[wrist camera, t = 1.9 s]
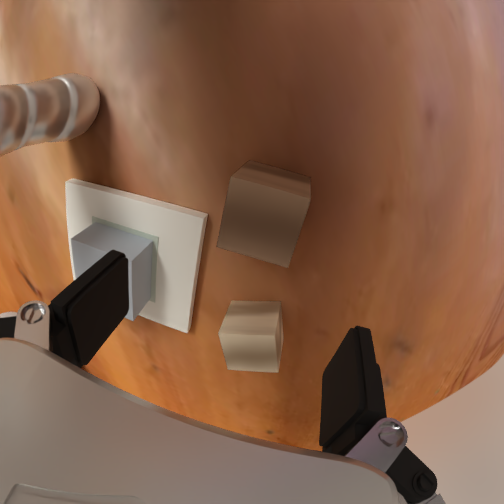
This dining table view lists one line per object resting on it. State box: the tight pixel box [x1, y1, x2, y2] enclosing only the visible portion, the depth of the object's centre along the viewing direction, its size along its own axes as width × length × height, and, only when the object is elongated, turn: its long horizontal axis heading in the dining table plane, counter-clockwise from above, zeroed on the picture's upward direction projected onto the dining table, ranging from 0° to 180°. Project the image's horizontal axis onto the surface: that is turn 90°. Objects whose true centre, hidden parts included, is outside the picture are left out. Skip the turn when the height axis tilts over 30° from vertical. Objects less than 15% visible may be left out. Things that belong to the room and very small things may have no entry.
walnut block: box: [217, 160, 311, 268], centre depth 21 cm, size 5×5×6 cm
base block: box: [71, 222, 153, 321], centre depth 26 cm, size 7×7×4 cm
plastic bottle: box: [0, 73, 100, 156], centre depth 13 cm, size 6×7×20 cm
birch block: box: [218, 301, 284, 373], centre depth 28 cm, size 5×5×5 cm
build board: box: [66, 178, 208, 333], centre depth 29 cm, size 14×16×1 cm
